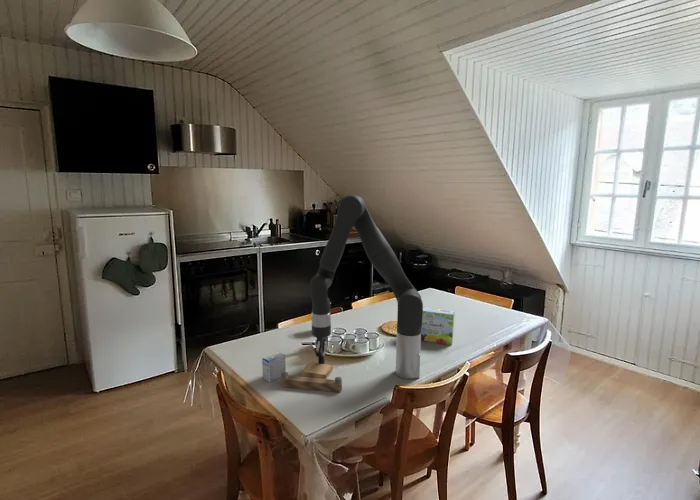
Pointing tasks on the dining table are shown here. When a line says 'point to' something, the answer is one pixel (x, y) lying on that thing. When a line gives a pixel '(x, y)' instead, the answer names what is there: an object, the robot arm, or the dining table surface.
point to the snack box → (437, 326)
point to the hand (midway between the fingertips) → (321, 364)
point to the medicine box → (273, 366)
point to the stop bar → (311, 383)
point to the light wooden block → (317, 370)
